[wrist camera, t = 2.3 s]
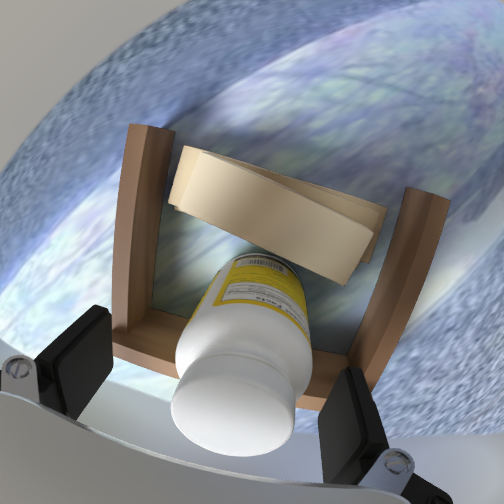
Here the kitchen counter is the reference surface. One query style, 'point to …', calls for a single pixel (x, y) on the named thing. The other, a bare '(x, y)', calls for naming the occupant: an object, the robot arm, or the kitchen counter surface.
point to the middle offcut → (317, 194)
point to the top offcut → (274, 217)
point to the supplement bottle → (244, 359)
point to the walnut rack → (171, 326)
